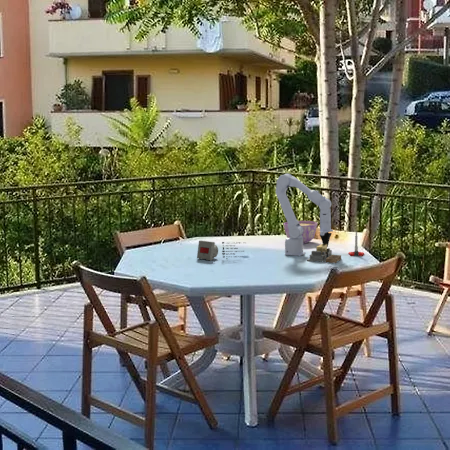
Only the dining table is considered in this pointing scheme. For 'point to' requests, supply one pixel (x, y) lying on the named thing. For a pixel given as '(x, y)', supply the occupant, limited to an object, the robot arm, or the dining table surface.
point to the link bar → (322, 247)
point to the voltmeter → (210, 250)
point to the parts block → (333, 258)
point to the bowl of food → (308, 230)
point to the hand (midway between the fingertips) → (325, 246)
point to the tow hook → (356, 249)
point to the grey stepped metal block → (320, 255)
